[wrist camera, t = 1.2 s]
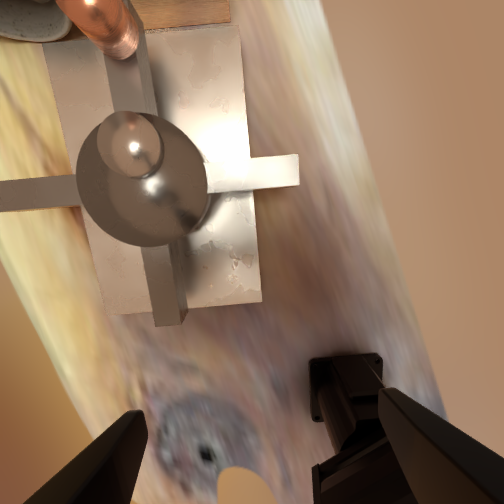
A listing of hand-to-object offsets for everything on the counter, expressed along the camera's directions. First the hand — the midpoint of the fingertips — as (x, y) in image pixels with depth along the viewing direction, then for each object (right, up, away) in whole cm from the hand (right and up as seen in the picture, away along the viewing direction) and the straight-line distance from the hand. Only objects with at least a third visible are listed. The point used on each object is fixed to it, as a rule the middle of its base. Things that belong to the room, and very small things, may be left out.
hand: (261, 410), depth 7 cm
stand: (-7, +12, +11) cm, 18 cm away
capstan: (-6, +9, +8) cm, 13 cm away
